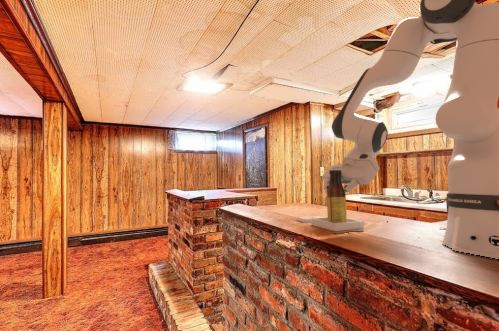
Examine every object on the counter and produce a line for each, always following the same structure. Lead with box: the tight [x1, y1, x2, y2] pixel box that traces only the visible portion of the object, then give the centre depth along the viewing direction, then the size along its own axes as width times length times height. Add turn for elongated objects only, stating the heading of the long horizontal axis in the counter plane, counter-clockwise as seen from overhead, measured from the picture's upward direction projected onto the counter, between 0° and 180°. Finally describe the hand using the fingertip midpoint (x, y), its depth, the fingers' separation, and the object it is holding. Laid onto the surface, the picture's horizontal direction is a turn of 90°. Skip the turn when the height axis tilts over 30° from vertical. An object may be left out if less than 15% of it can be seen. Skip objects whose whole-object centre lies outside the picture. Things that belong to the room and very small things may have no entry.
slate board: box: [291, 218, 312, 224], centre depth 100 cm, size 10×12×1 cm
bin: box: [311, 216, 365, 236], centre depth 87 cm, size 12×13×4 cm
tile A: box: [310, 215, 325, 218], centre depth 100 cm, size 5×5×1 cm
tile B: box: [296, 216, 312, 223], centre depth 98 cm, size 5×5×1 cm
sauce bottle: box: [326, 170, 348, 223], centre depth 88 cm, size 6×6×20 cm
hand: (335, 190), depth 88 cm, fingers open, 8 cm apart
